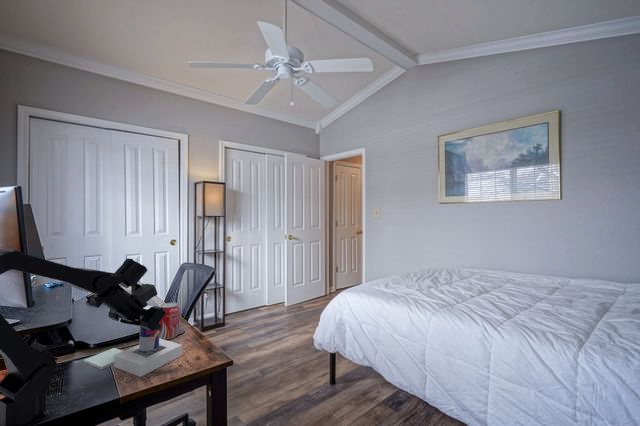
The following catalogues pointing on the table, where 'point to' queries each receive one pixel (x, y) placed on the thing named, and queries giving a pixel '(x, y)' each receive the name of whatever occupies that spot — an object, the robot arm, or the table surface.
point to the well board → (147, 358)
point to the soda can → (169, 321)
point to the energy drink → (148, 341)
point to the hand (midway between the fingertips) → (154, 327)
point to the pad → (103, 359)
